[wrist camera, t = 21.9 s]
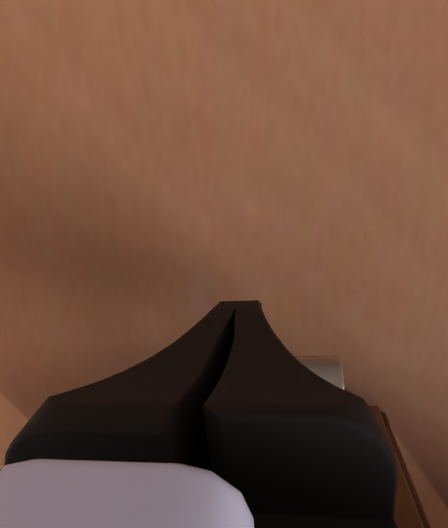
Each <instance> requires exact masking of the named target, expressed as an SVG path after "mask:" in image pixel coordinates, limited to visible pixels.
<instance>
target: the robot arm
mask: <svg viewBox="0 0 448 528" xmlns="http://www.w3.org/2000/svg"><path fill="white" fill-rule="evenodd" d="M397 481H398V474H397V464H396V460H395V458H394V455H393V452H392V449H391V447H390V445H389V442H388V440H387V438H386V436H385V435H384V433H383V431H382V429H381V427H380V425H379V424H378V422H377V420H376V418H375V417H374V415H373V413H372V412H371V410H370V408H369V407H368V405H367V404H366V402H365V401H364V400H363V399H362V398H360V397H358V396H356V395H354V394H352V393H350V392H348V391H345V390H343V389H341V388H339V387H337V386H335V385H333V384H331V383H330V382H328V381H326V380H324V379H323V378H321V377H319V376H318V375H316V374H315V373H314V372H312V371H311V370H310V369H308V368H307V367H306V366H304V365H303V364H302V363H301V362H299V361H298V360H297V359H296V358H295V357H294V356H293V355H292V354H291V353H290V352H289V351H288V350H287V348H286V347H285V346H284V345H283V344H282V342H281V341H280V340H279V339H278V337H277V336H276V334H275V333H274V331H273V330H272V328H271V327H270V325H269V323H268V322H267V320H266V318H265V316H264V313H263V311H262V306H261V303H260V302H259V301H258V300H256V301H226V302H220V303H219V304H217V305H216V306H215V307H214V308H213V309H212V310H211V311H210V312H209V313H208V314H207V315H206V316H205V317H204V318H203V319H202V320H201V321H199V322H198V323H197V324H196V325H195V326H194V327H193V328H191V329H190V330H189V331H188V332H186V333H185V334H184V335H183V336H182V337H180V338H179V339H178V340H177V341H175V342H174V343H172V344H171V345H170V346H168V347H167V348H165V349H163V350H162V351H160V352H159V353H157V354H156V355H154V356H152V357H150V358H149V359H147V360H145V361H143V362H141V363H139V364H137V365H135V366H133V367H131V368H129V369H127V370H125V371H123V372H121V373H118V374H116V375H113V376H111V377H109V378H106V379H103V380H101V381H98V382H96V383H93V384H90V385H87V386H84V387H81V388H77V389H74V390H71V391H67V392H64V393H61V394H58V395H54V396H50V397H48V398H47V400H46V401H45V402H44V403H43V404H42V405H41V407H40V408H39V409H38V410H37V412H36V413H35V414H34V415H33V417H32V418H31V419H30V420H29V421H28V423H27V424H26V425H25V426H24V428H23V429H22V430H21V431H20V432H19V434H18V435H17V436H16V437H15V439H14V440H13V441H12V442H11V444H10V446H9V448H8V450H7V452H6V455H5V466H4V467H3V468H2V469H1V471H0V528H397V526H396V522H395V519H394V514H395V503H396V492H397Z"/></svg>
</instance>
